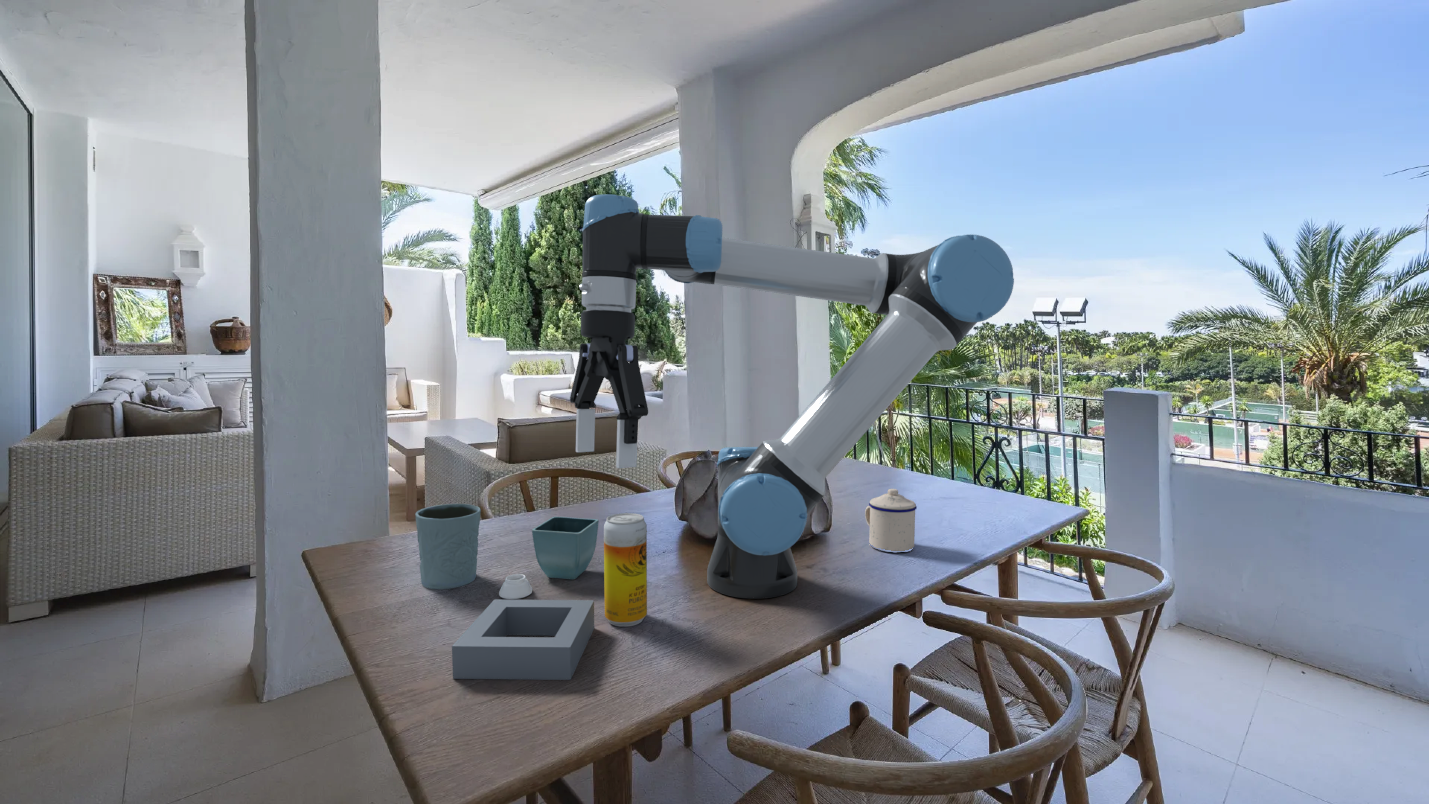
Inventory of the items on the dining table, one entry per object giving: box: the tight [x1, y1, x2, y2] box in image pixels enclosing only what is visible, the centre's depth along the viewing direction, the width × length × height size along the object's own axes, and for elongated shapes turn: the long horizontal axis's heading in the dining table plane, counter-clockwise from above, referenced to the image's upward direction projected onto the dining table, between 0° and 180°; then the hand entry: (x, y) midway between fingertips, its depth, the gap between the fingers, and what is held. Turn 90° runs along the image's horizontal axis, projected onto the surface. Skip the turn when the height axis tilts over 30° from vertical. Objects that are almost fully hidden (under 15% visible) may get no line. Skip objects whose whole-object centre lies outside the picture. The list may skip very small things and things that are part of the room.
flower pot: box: [531, 516, 600, 580], centre depth 109 cm, size 9×9×9 cm
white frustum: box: [498, 573, 533, 600], centre depth 101 cm, size 5×3×5 cm
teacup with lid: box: [864, 488, 918, 551], centre depth 127 cm, size 12×9×12 cm
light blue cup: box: [414, 503, 482, 590], centre depth 106 cm, size 10×10×12 cm
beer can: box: [603, 512, 648, 628], centre depth 91 cm, size 6×6×15 cm
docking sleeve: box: [451, 598, 595, 681], centre depth 82 cm, size 14×14×4 cm
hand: (604, 459), depth 91 cm, fingers open, 13 cm apart
